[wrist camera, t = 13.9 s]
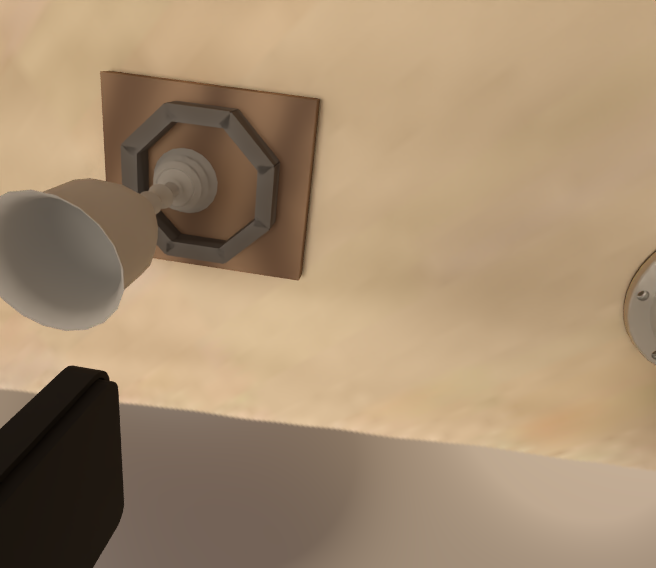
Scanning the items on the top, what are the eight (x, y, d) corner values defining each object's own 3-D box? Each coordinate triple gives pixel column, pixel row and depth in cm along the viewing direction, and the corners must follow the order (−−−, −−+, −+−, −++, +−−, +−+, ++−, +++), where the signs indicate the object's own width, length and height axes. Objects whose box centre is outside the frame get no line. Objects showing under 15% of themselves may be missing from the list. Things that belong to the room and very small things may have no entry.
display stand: (319, 98, 39) (313, 102, 36) (301, 273, 45) (294, 290, 42) (110, 71, 40) (85, 72, 37) (118, 245, 46) (97, 259, 43)
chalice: (125, 187, 42) (-46, 271, 26) (165, 115, 39) (5, 156, 23) (203, 241, 43) (87, 356, 27) (247, 174, 41) (150, 255, 24)
